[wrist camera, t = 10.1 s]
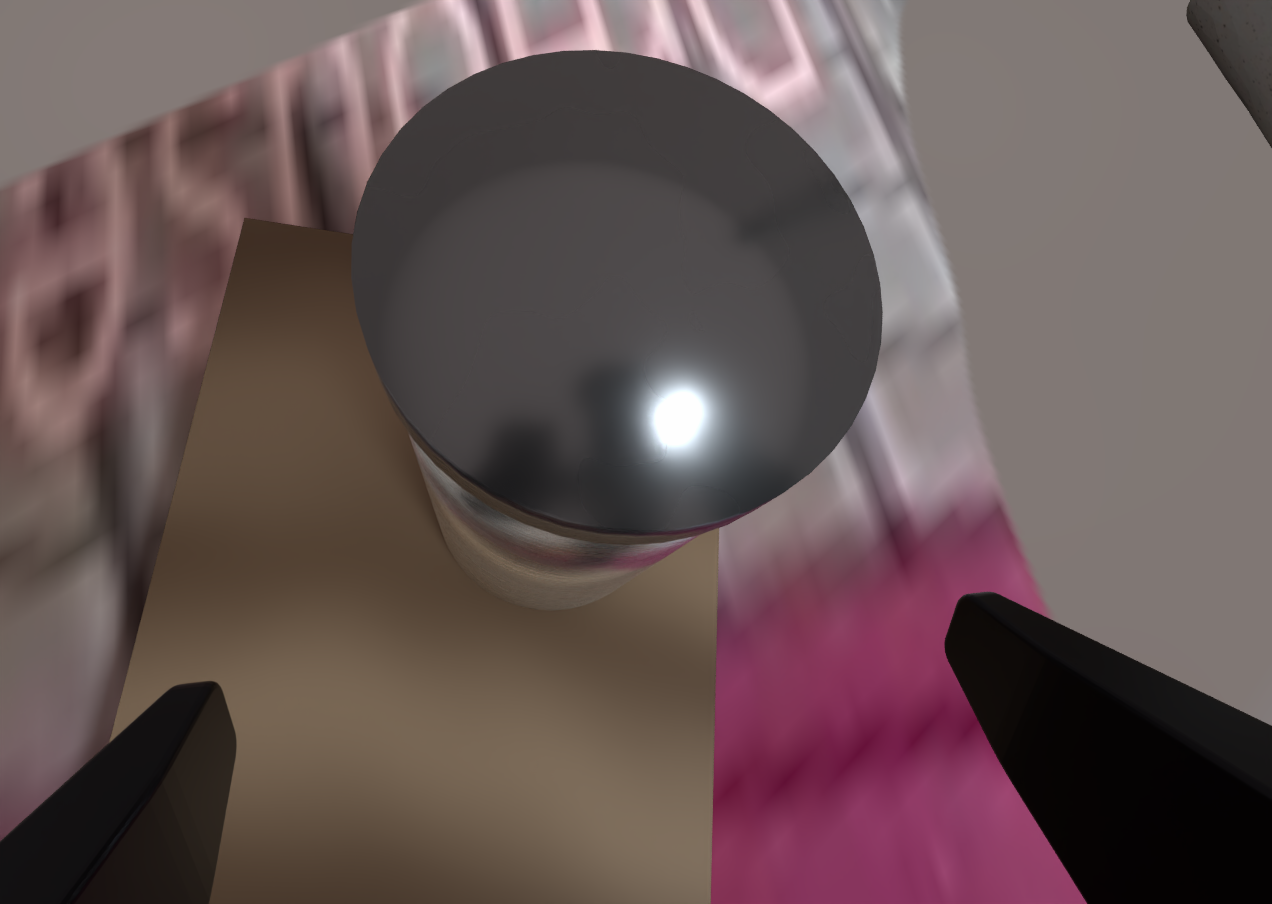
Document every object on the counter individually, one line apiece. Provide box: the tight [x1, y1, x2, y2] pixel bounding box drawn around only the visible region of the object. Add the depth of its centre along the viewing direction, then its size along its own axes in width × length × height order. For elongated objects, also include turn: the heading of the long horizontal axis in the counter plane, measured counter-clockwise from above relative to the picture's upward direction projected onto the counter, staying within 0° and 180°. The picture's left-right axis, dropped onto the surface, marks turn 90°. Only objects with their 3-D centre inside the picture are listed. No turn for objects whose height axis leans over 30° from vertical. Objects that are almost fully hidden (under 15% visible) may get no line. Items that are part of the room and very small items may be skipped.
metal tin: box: [351, 50, 883, 610], centre depth 12 cm, size 5×5×10 cm
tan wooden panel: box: [109, 218, 719, 904], centre depth 16 cm, size 18×12×1 cm, turn 176°
